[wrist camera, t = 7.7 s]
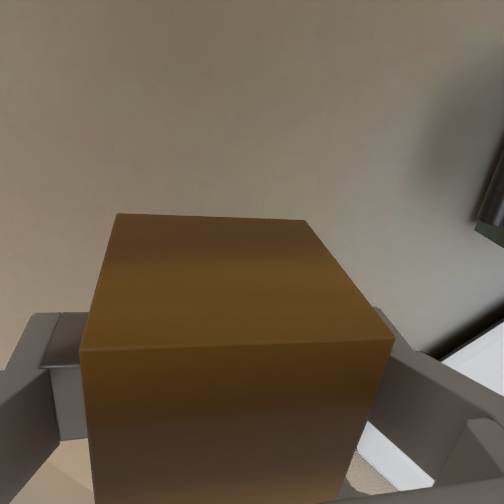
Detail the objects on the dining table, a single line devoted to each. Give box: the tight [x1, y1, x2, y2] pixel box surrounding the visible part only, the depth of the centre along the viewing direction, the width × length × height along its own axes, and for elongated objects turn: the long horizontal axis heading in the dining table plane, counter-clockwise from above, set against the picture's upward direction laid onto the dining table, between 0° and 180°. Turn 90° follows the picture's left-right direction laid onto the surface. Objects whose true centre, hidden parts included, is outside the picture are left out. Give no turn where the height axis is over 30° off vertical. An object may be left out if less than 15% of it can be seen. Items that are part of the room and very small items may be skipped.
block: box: [79, 213, 395, 504], centre depth 8 cm, size 4×4×4 cm
